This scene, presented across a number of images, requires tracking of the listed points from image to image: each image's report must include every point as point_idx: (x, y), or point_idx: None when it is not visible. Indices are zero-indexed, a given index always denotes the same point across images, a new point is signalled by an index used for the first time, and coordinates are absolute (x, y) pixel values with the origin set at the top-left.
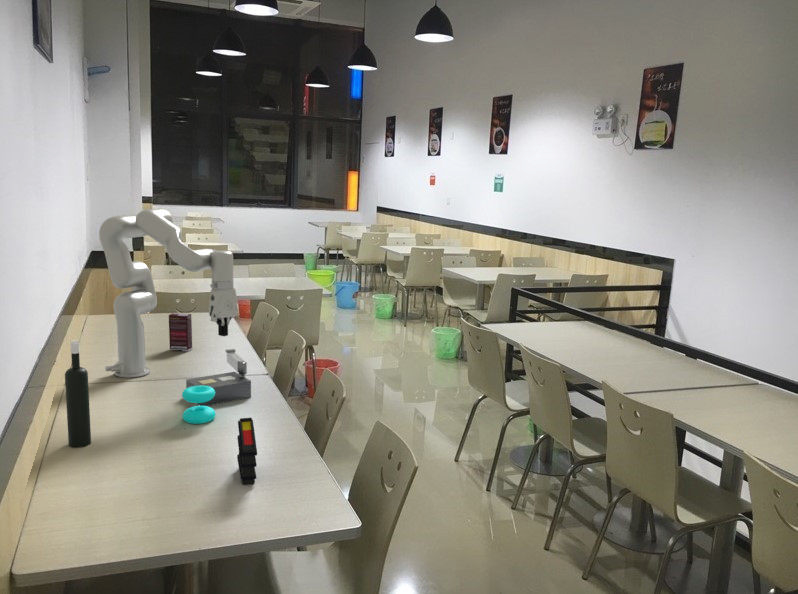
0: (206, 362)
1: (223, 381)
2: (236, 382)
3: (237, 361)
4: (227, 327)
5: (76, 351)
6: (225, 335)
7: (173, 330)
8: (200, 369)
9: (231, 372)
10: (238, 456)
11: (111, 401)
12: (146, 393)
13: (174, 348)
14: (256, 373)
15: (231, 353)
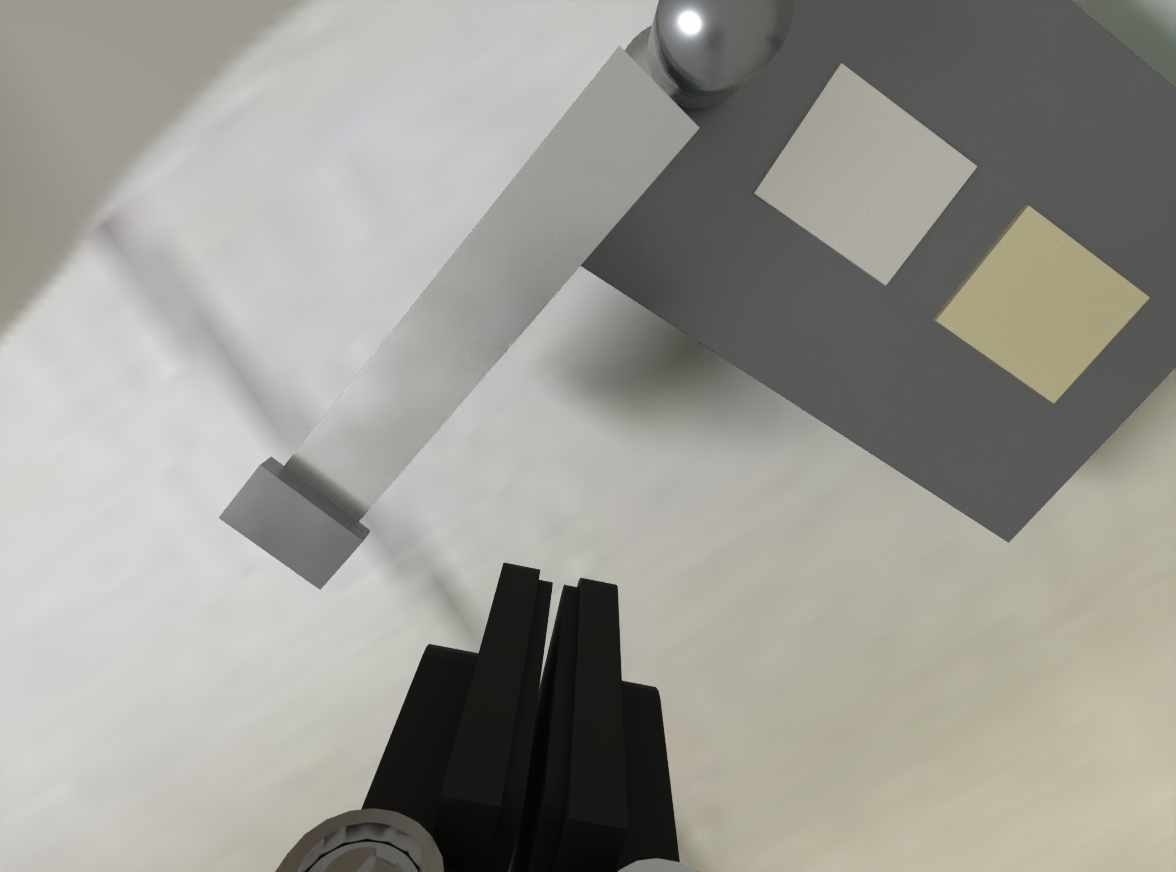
0: (155, 792)
1: (971, 153)
2: None
3: (693, 134)
4: (480, 720)
5: None
6: (592, 582)
7: None
8: (317, 739)
9: (618, 275)
10: None
11: (1151, 811)
12: (947, 735)
13: None
14: (127, 304)
15: (371, 457)
